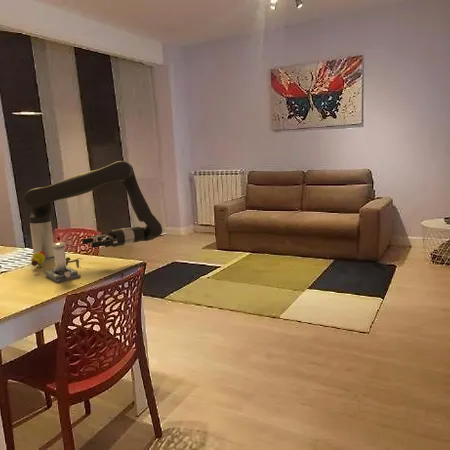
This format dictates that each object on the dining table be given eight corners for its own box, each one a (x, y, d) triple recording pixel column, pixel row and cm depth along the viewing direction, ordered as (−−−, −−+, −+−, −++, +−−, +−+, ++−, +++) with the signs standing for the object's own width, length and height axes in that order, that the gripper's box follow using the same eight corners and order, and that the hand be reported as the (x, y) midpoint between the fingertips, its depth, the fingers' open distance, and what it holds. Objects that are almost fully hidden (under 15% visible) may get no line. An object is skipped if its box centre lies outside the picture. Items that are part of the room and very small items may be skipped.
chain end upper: (44, 276, 166) (43, 269, 165) (66, 271, 172) (65, 264, 172) (56, 282, 158) (55, 274, 158) (78, 276, 164) (77, 269, 164)
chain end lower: (46, 277, 165) (45, 270, 164) (68, 272, 171) (67, 265, 170) (58, 283, 157) (57, 275, 156) (80, 277, 163) (79, 270, 162)
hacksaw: (65, 260, 192) (65, 257, 191) (88, 257, 195) (88, 254, 195) (63, 274, 169) (62, 271, 169) (89, 271, 173) (89, 268, 172)
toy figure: (36, 262, 187) (34, 248, 186) (49, 261, 188) (47, 247, 187) (27, 274, 170) (25, 258, 169) (41, 272, 171) (39, 257, 170)
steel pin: (53, 277, 164) (49, 243, 161) (65, 274, 168) (61, 241, 165) (58, 280, 161) (55, 245, 158) (70, 277, 164) (67, 243, 162)
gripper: (112, 226, 186) (78, 232, 175) (129, 231, 176) (94, 237, 165) (113, 242, 187) (80, 249, 176) (130, 247, 177) (96, 255, 166)
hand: (87, 243), depth 170 cm, fingers open, 8 cm apart
